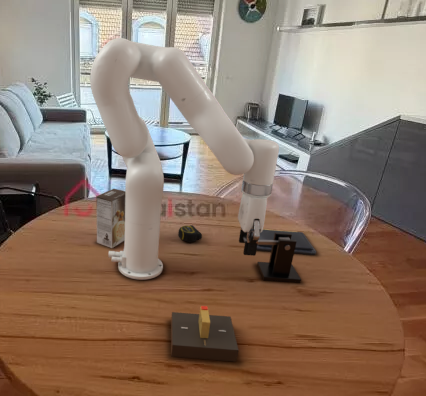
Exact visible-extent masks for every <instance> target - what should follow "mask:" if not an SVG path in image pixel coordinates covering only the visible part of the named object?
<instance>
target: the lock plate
mask: <svg viewBox="0 0 426 396" xmlns="http://www.w3.org/2000/svg"><path fill="white" fill-rule="evenodd" d="M209 318H210V328H209V335H208V338H200V330H199V313H190V312H189V313H188V312H177V311H176V312H175V311H172V312H171V317H170V319H171V320H170V346H171V347H170V357H173V358H185V359H186V358H187V359H196V360H197V359H200V360H210V361H224V362H234V363H235V362H237V360H238V356H239V346H238V343H237V338H236V333H235V330H234V325H233V321H232V317H231V316H229V315H227V316H226V315H217V314H216V315H215V314H214V315H213V314H209Z"/></svg>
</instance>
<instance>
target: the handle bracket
mask: <svg viewBox="0 0 426 396" xmlns="http://www.w3.org/2000/svg"><path fill="white" fill-rule="evenodd" d="M279 237H289V238H290V240H288V239H279V241H278V245H272V250H271V252H270V255H269V261H257V263H256V266H257V269H258V271H259V274H260V276H261V278H262V280H263V282H264V281H266V282H278V283H279V282H280V283H295V284H301V282H302V278H301V277H300V275H299V273H298V272H297V270H296V268H295V267H294V264H293V259H294V256H295V253H294V251H295V247H296V240H291V237H292V234H291V233H279V232H275V234H274V240H278V238H279Z"/></svg>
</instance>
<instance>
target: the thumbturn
mask: <svg viewBox="0 0 426 396" xmlns="http://www.w3.org/2000/svg"><path fill="white" fill-rule="evenodd" d="M209 311H210V310H209V306H207V305H201V306H199V313H198V314H199V330H200V338H208V335H209V328H210V318H209V315H210V312H209Z"/></svg>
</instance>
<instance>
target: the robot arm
mask: <svg viewBox="0 0 426 396" xmlns="http://www.w3.org/2000/svg"><path fill="white" fill-rule="evenodd" d="M89 75H90V76H89V84H90V90H91V94H92V96H93V99H94V102H95V105H96V107H97V110H98V112H99V115H100V118H101V120H102V123H103V125H104V127H105V130H106V133H107V135H108V138H109V140H110V143H111V146H112V148H113V150H114V151H115V152H116V153H117V154H118V155H120V156H121V158H122V160H123V162H124V165H125V167H126V172H125V173H126V174H125V182H124V183H125V184H124V185H125V186H124V187H125V189H124V191H125V240H124V241H123V242H124V246H123V250H120V251H115V250H108V254H107V257H108V258H109V259H111V262H113V263H117V265H118V266H117V268H118V271H119V272H120V273H121V275H123V276H125V277H126V278H129V279H132V280H138V281H139V280H140V281H143V280H151V279H154V278H156V277H158V276H160V275H161V274H162V272H163V269H164V264H163V262H162V260H161V259H160V258H159V248H160V235H161V234H160V233H161V220H162V219H161V217H162V205H163V204H162V202H163V195H164V188H165V177H164V170H163V166H162V162H161V158H160V157H159V156H160V155H159V154H158V151H157V148H156V146H155V143H154V141H153V139H152V135H151V133H150V130H149V127H148V126H147V123H146V121H145V120H144V119H143V118H142V117H140V115H139V113H138V111H137V108H136V106H135V102H134V99H133V97H132V95H131V92H130V90H129V79H130V78H133V79H139V80H145V81H150V82H157V83H158V84H159V85H160V86H161V88H162V89H163V90H164V92H165V93H166V94H167V96H168V97H169V99H170V100H171V101H172V103H173V104H174V105H175V107H176V108H177V110H178V111H179V112H180V114H181V115H182V117H183V118H184V119H185V121H187V123H188V125H189V126H190V127H191V129H193V131H195V132H196V134H198V135H199V137H200V138H201V139H202V140H203V142H204V143H205V144H206V146H207V147H208V148H209V150H210V151H211V152H212V154H213V155H214V157H215V158H216V159H217V161H218V162H219V164H220V165H221V167H222V168H223V169H224V171H225V172H227V173H228V174H231V175H234V176H242V175H243V178H242V182H241V188H240V189H241V191H240V192H241V193H242V194H241V199H240V202H239V203H240V204H239V208H238V212H237V221H238V222H239V226H240V230H239V237H238V243H239V244H244V245H243V252H242V253H243V255H244V256H251V257H252V256H253V257H255V256H256V254H257V251H258V250H257V244H258V240H259V238H260V233H261V232H262V230H263V229H264V227H265V221H266V212H267V207H268V205H267V204H268V198H269V197H271V196H272V191H273V186H274V179H275V175H276V169H277V163H278V157H279V152H280V145H279V144H278V143H277V142H276V141H275V140H271V139H265V138H256V139H255V138H254V139H251V138H250V139H249V138H244V136H242V134H241V132H240V131H239V130H238V128H237V126H236V125H235V124H234V123H233V121H232V120H231V119H230V117H229V116H228V114H227V113H226V112H225V110H224V108H223V107H222V105H221V104H220V102H219V101H218V99H217V98H216V96H215V95H214V93H213V92H212V91H211V89H210V88H209V86H208V85H207V84H206V82H205V81H204V79H203V77H202V76H201V75H200V73H199V72H198V70H197V69H196V68H195V66H194V64H193V63H192V62H191V60H190V59H189V58H188V56H187V54H185V52H184V51H183V50H181V49H180V48H178V47H176V46H159V45H152V44H147V43H142V42H137V41H133V40H129V39H127V38H124V37H116V38H113V39H110V40H109V41H108V42H106V44H104V45H103V47H102V48H101V49H100V50H99V52H98V53H97V55H96V56H95V58H94V60H93V62H92V65H91V69H90V74H89ZM251 229H253V231H252V230H251ZM252 233H253V236H252ZM243 235H247V241H245V242H244V240H243Z"/></svg>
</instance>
